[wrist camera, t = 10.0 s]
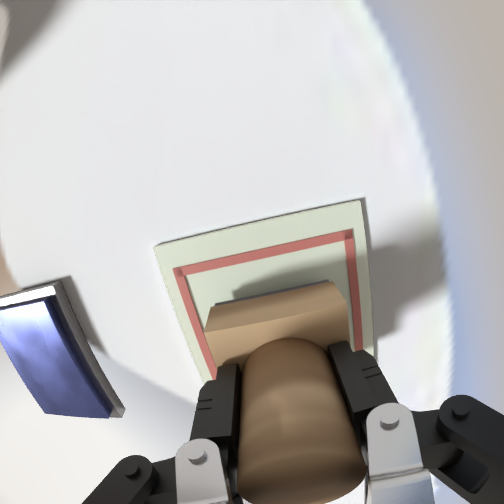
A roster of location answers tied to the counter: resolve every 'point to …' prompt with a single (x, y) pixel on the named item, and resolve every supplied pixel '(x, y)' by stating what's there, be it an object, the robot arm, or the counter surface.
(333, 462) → the stamp
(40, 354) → the ink pad
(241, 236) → the print sheet
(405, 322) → the counter surface
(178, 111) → the counter surface
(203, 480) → the robot arm
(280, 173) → the counter surface
